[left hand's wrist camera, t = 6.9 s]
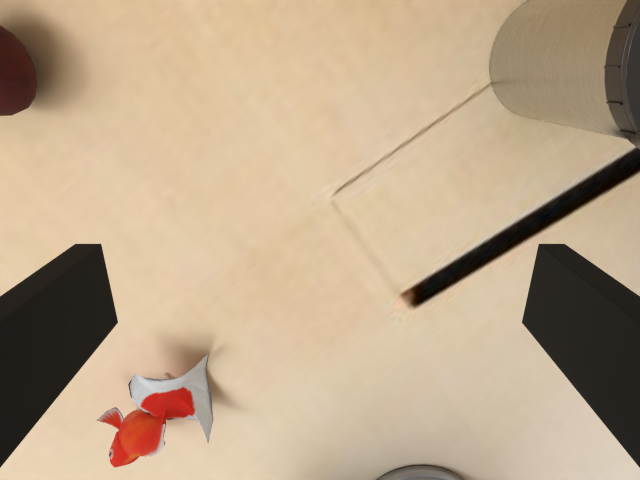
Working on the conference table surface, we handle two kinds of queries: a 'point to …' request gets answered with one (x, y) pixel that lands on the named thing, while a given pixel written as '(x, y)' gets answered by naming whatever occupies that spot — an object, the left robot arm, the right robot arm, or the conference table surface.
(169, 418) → the fish
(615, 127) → the jar
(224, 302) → the conference table surface
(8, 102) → the dark brown ball
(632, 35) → the lid
